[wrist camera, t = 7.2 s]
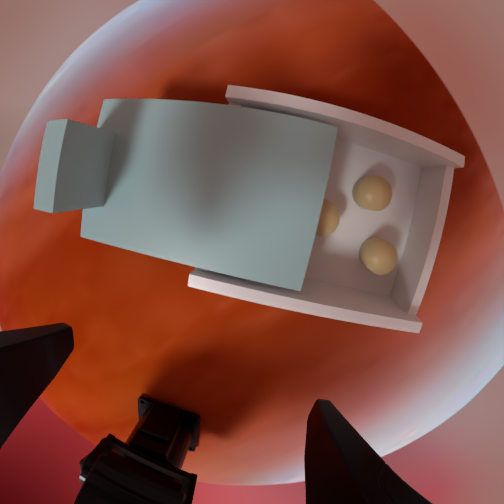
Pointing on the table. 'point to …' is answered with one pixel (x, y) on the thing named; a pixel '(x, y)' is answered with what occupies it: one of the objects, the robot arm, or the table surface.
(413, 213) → the parts tub
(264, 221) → the lid
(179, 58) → the table surface
